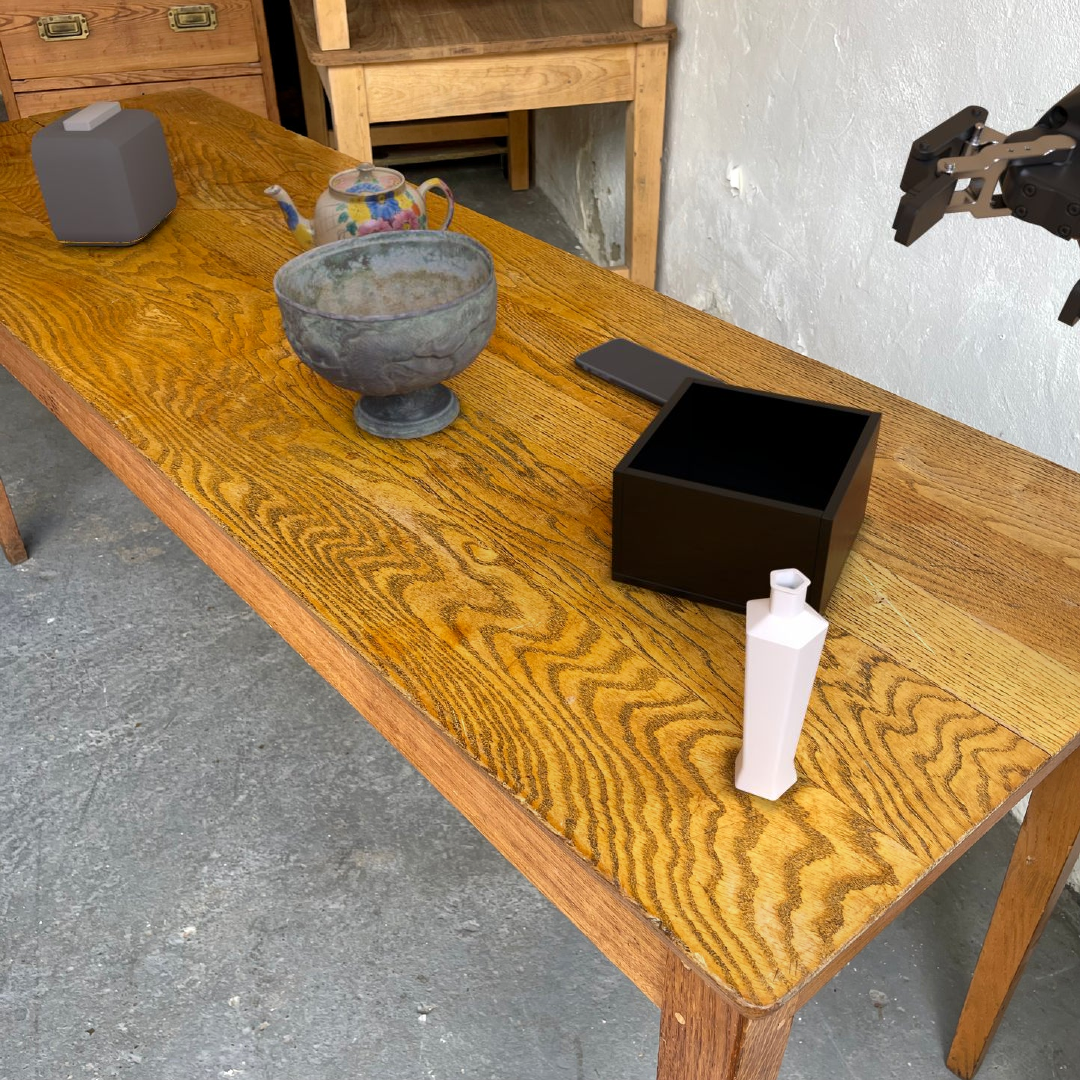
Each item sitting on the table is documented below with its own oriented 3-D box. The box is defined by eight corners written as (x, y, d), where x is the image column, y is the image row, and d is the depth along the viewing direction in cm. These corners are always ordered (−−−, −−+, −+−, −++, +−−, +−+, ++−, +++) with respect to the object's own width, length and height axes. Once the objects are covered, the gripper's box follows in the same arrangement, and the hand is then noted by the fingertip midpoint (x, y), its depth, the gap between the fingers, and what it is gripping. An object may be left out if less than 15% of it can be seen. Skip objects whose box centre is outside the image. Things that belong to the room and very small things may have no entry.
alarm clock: (111, 209, 157) (81, 94, 148) (188, 210, 156) (163, 94, 146) (59, 252, 143) (23, 128, 134) (142, 253, 142) (112, 128, 133)
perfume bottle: (754, 735, 70) (777, 543, 61) (812, 772, 67) (845, 576, 59) (708, 775, 67) (726, 580, 59) (767, 814, 65) (795, 616, 56)
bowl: (291, 383, 111) (266, 239, 103) (479, 357, 115) (469, 215, 106) (307, 484, 96) (279, 324, 87) (524, 450, 99) (517, 293, 91)
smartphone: (682, 409, 103) (569, 357, 112) (681, 418, 103) (569, 365, 112) (732, 383, 107) (619, 334, 116) (731, 391, 108) (619, 342, 116)
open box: (864, 519, 89) (882, 412, 83) (815, 634, 78) (833, 519, 72) (681, 478, 95) (686, 376, 89) (610, 580, 84) (612, 470, 78)
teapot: (409, 239, 144) (399, 134, 136) (470, 268, 135) (463, 158, 127) (271, 279, 134) (252, 169, 126) (327, 313, 125) (310, 197, 117)
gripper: (1036, 14, 59) (872, 134, 51) (1312, 113, 53) (1173, 266, 45) (989, 143, 64) (835, 267, 57) (1233, 246, 58) (1098, 400, 51)
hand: (985, 266), depth 51 cm, fingers open, 8 cm apart
